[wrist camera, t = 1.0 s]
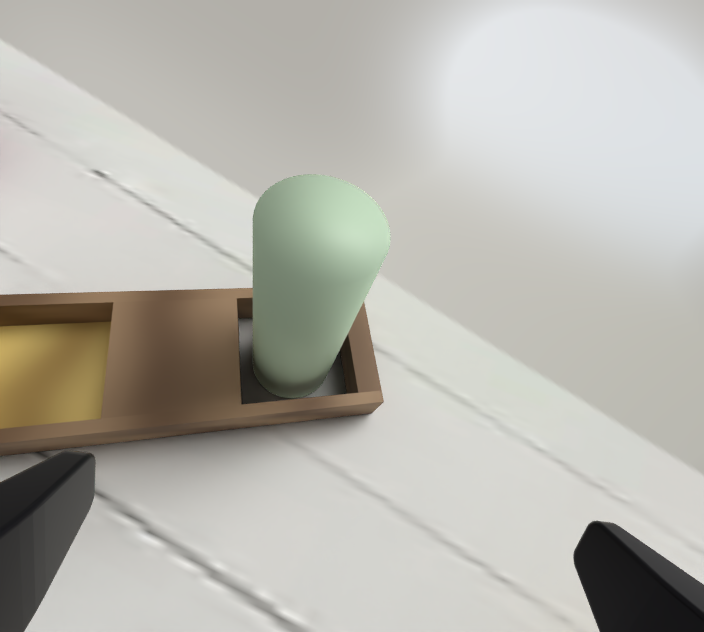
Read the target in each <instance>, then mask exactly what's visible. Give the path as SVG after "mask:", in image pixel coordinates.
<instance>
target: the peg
mask: <svg viewBox="0 0 704 632" xmlns="http://www.w3.org/2000/svg"><path fill="white" fill-rule="evenodd" d="M389 247H390V229H389V225H388V222H387V219H386V217H385V215H384V213H383V211H382V210H381V208H380V207H379V205H378V204H377V203H376V202H375V201H374V200H373V199H372V198H371V197H370V196H369V195H368V194H366V193H365V192H364V191H363V190H361V189H360V188H358V187H356V186H355V185H353V184H351V183H349V182H346V181H344V180H341V179H338V178H335V177H330V176H325V175H316V174H313V175H312V174H308V175H298V176H294V177H290V178H287V179H284V180H282V181H280V182H278V183H276V184H275V185H273V186H271V187H270V188H269V189H268V190H267V191H265V192H264V194H263V195H262V196H261V197H260V199H259V201H258V202H257V204H256V207H255V210H254V214H253V370H254V373H255V375H256V378H257V379H258V381H259V383H260V384H261V385H262V386H263V387H264V388H265V389H266V390H268V391H269V392H271V393H272V394H274V395H277V396H280V397H284V398H299V397H303V396H307V395H309V394H311V393H312V392H314V391H315V390H317V389H318V388H319V387H320V386H321V385H322V384H323V382H324V381H325V379H326V377H327V375H328V373H329V371H330V369H331V367H332V365H333V363H334V361H335V359H336V357H337V355H338V352H339V350H340V348H341V346H342V344H343V342H344V340H345V338H346V336H347V334H348V332H349V330H350V328H351V326H352V324H353V322H354V320H355V318H356V316H357V314H358V312H359V310H360V308H361V306H362V304H363V302H364V300H365V298H366V296H367V294H368V292H369V290H370V288H371V286H372V284H373V282H374V280H375V278H376V276H377V274H378V271H379V269H380V267H381V265H382V263H383V261H384V259H385V257H386V255H387V253H388V250H389Z"/></svg>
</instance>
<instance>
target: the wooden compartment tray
mask: <svg viewBox="0 0 704 632" xmlns="http://www.w3.org/2000/svg"><path fill="white" fill-rule="evenodd" d="M238 318H253V288H236V289H199V290H162V291H124V292H87V293H50V294H12V295H0V456H5V455H14V454H23V453H31V452H40V451H49V450H57V449H66V448H75V447H83V446H92V445H101V444H109V443H118V442H127V441H135V440H144V439H153V438H161V437H170V436H179V435H187V434H196V433H205V432H213V431H222V430H231V429H239V428H248V427H256V426H265V425H274V424H282V423H291V422H300V421H308V420H317V419H326V418H334V417H343V416H352V415H360V414H369V413H372V412H373V411H375V410H376V409H377V408H378V407H379V406H380V405H381V404H382V403H383V402H384V401H383V396H382V391H381V385H380V380H379V375H378V370H377V365H376V360H375V355H374V350H373V345H372V340H371V335H370V330H369V325H368V319H367V314H366V309H365V304H364V302H363V304H362V306H361V308H360V310H359V312H358V314H357V316H356V318H355V320H354V322H353V324H352V326H351V328H350V330H349V332H348V334H347V336H346V338H345V340H344V342H343V344H342V346H341V348H340V353H341V359H342V366H343V372H344V378H345V385H346V391H347V394H341V395H331V396H321V397H311V398H301V399H291V400H281V401H271V402H262V403H252V404H242V399H241V375H240V351H239V327H238Z"/></svg>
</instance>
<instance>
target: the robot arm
mask: <svg viewBox="0 0 704 632" xmlns="http://www.w3.org/2000/svg"><path fill="white" fill-rule="evenodd" d="M95 463H96V462H95V457H94V455H93V454H91V453H86V452H79V451H71V450H70V451H64V452H61V453H59V454H57V455H55V456H53V457H51V458H49V459H47V460H45V461H43V462H41V463H39V464H37V465H35V466H33V467H31V468H28V469H26V470H24V471H22V472H20V473H18V474H16V475H14V476H12V477H10V478H8V479H6V480H4V481H2V482H0V632H24V631H25V629H26V627H27V626H28V624H29V622H30V621H31V619H32V618H33V616H34V614H35V613H36V611H37V609H38V607H39V605H40V604H41V602H42V600H43V598H44V596H45V594H46V592H47V591H48V589H49V587H50V585H51V583H52V581H53V579H54V577H55V575H56V573H57V571H58V569H59V567H60V565H61V564H62V562H63V560H64V558H65V556H66V554H67V552H68V550H69V548H70V546H71V544H72V542H73V540H74V539H75V537H76V535H77V533H78V531H79V529H80V527H81V525H82V523H83V521H84V519H85V517H86V515H87V514H88V512H89V510H90V507H91V505H92V502H93V499H94V492H95ZM573 556H574V565H575V568H576V570H577V573H578V576H579V578H580V581H581V584H582V586H583V589H584V591H585V594H586V597H587V599H588V602H589V605H590V607H591V610H592V613H593V615H594V618H595V620H596V623H597V626H598V628H599V631H600V632H704V585H703V584H702V583H700V582H699V581H697V580H696V579H695V578H693V577H692V576H690V575H689V574H687V573H686V572H684V571H683V570H682V569H680V568H679V567H677V566H676V565H674V564H673V563H671V562H670V561H669V560H667V559H666V558H664V557H663V556H661V555H660V554H658V553H657V552H656V551H654V550H653V549H651V548H650V547H648V546H647V545H645V544H644V543H643V542H641V541H640V540H638V539H637V538H635V537H634V536H633V535H631V534H630V533H628V532H627V531H625V530H624V529H622V528H621V527H620V526H618V525H616V524H614V523H610V522H602V521H592V522H591V523H590V524H589V525H588V526H587V528H586V530H585V532H584V534H583V535H582V537H581V539H580V541H579V543H578V545H577V547H576V548H575V551H574V555H573Z"/></svg>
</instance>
